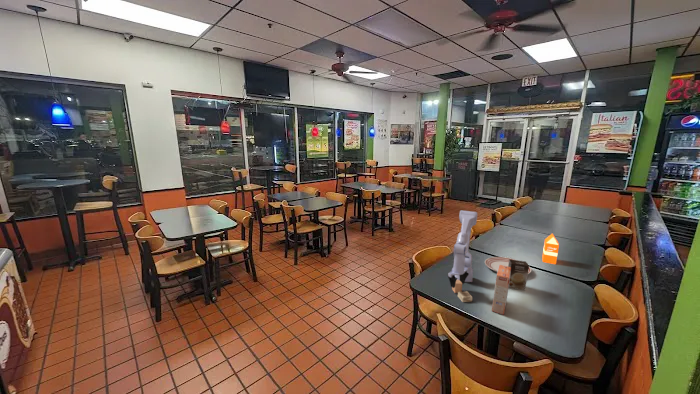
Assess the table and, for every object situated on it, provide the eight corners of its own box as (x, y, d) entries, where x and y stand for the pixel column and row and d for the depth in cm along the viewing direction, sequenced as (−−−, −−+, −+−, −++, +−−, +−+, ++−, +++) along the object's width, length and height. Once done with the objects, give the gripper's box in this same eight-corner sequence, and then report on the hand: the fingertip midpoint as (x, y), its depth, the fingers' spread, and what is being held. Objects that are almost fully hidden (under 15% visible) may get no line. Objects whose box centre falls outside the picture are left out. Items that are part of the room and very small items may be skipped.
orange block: (458, 288, 158) (459, 279, 157) (461, 292, 155) (462, 283, 153) (451, 289, 158) (452, 280, 157) (454, 292, 154) (455, 283, 153)
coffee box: (507, 288, 159) (511, 263, 155) (505, 282, 165) (508, 258, 161) (525, 291, 156) (529, 265, 152) (522, 285, 162) (526, 261, 158)
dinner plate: (486, 275, 175) (486, 270, 174) (482, 258, 200) (483, 253, 199) (535, 283, 165) (536, 278, 164) (525, 264, 189) (526, 259, 189)
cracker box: (504, 315, 134) (509, 278, 130) (491, 311, 138) (495, 274, 133) (506, 301, 146) (511, 266, 141) (494, 298, 149) (498, 263, 144)
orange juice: (554, 259, 195) (559, 234, 191) (556, 264, 188) (560, 237, 184) (541, 257, 199) (545, 232, 195) (542, 261, 192) (546, 235, 188)
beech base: (466, 296, 152) (467, 291, 151) (472, 301, 146) (472, 297, 146) (457, 296, 151) (458, 291, 151) (462, 302, 146) (462, 297, 145)
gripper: (461, 258, 160) (460, 279, 162) (444, 263, 153) (442, 285, 156) (472, 263, 153) (469, 284, 156) (454, 268, 147) (452, 291, 150)
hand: (457, 285), depth 156 cm, fingers open, 7 cm apart
